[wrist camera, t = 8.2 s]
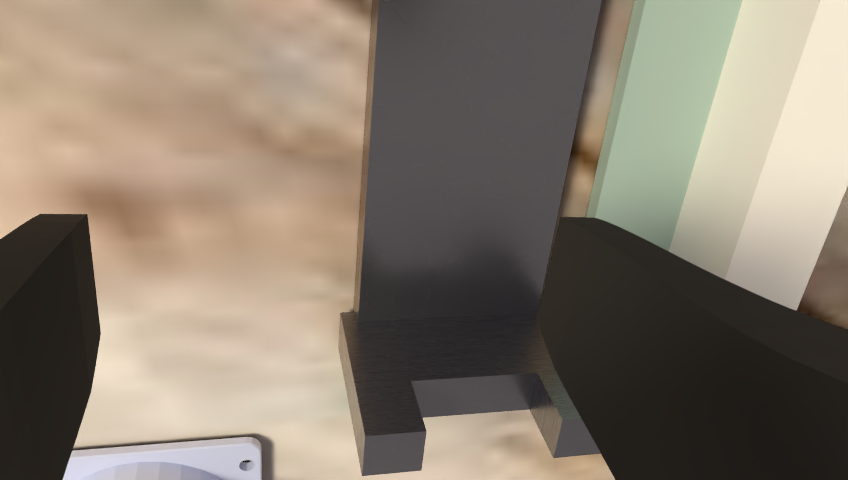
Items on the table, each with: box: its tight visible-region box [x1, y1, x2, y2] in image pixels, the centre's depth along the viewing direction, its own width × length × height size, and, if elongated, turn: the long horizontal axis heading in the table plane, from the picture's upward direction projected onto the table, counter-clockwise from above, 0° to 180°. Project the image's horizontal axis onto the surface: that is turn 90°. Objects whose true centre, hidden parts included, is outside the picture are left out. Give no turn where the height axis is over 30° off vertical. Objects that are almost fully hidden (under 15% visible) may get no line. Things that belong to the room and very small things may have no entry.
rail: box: [669, 0, 848, 311], centre depth 23 cm, size 20×3×3 cm, turn 174°
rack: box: [339, 0, 602, 476], centre depth 19 cm, size 18×7×6 cm, turn 174°
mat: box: [586, 0, 742, 251], centre depth 24 cm, size 20×9×1 cm, turn 174°
